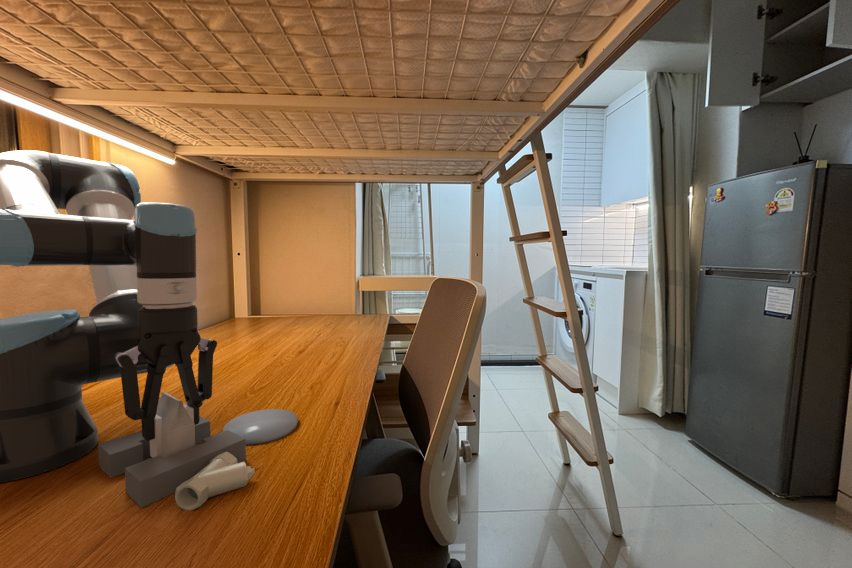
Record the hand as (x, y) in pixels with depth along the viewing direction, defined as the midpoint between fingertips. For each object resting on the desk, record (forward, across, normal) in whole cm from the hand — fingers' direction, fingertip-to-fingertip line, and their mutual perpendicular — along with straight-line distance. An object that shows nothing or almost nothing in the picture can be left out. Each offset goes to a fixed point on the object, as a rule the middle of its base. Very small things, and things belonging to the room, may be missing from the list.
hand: (172, 451), depth 58 cm
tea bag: (+1, 0, 0) cm, 1 cm away
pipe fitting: (+2, 0, -14) cm, 14 cm away
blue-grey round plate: (+2, +15, 0) cm, 15 cm away
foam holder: (+2, 0, 0) cm, 2 cm away
